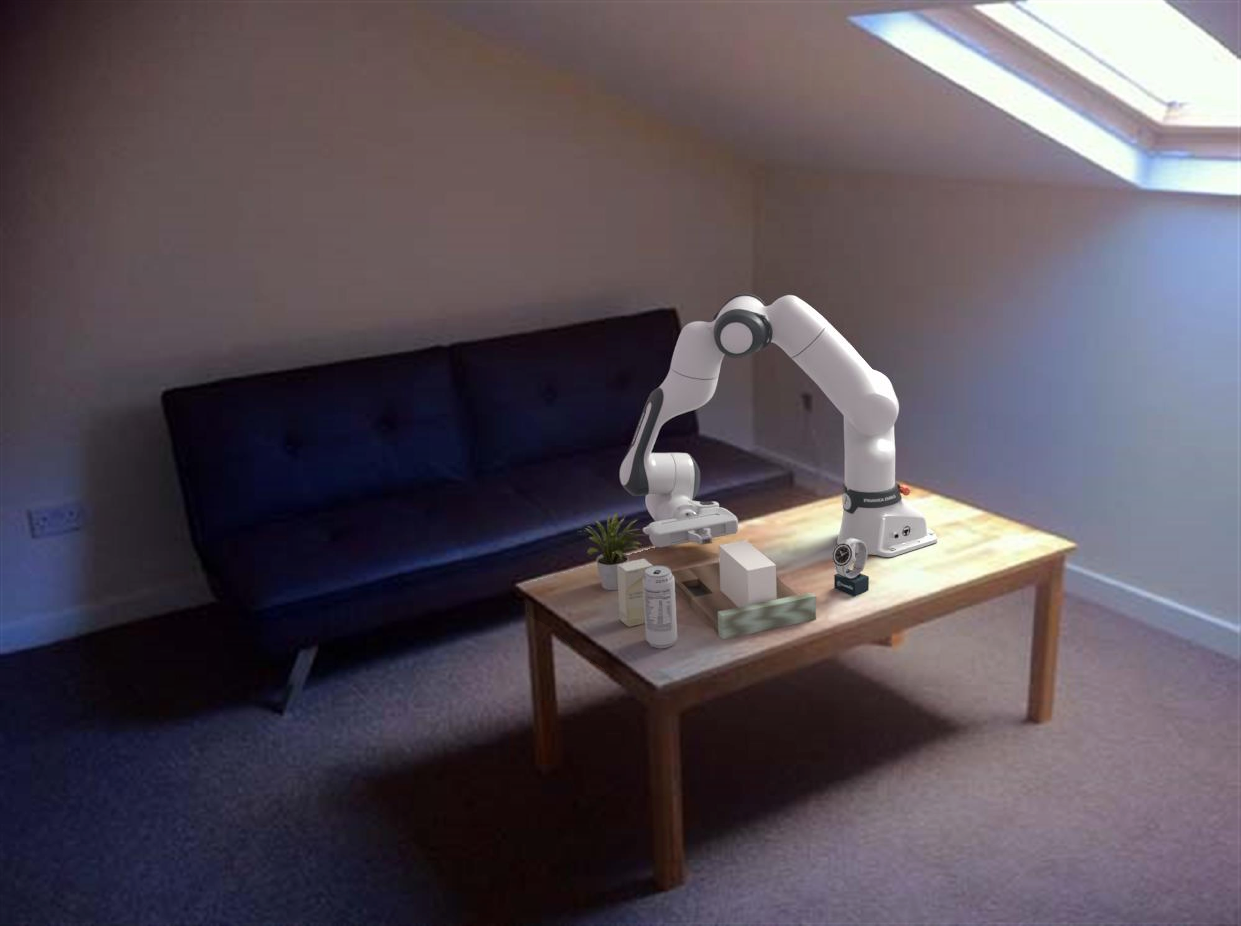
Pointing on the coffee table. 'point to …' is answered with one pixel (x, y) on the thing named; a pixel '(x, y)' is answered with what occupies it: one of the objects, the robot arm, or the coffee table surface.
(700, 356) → the robot arm
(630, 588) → the skincare box
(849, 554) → the watch
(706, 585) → the wooden tray
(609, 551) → the house plant
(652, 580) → the energy drink can
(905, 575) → the coffee table surface
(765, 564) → the block
